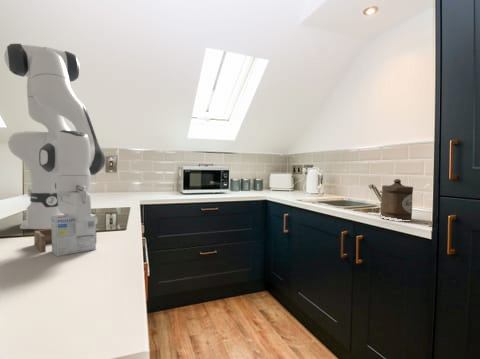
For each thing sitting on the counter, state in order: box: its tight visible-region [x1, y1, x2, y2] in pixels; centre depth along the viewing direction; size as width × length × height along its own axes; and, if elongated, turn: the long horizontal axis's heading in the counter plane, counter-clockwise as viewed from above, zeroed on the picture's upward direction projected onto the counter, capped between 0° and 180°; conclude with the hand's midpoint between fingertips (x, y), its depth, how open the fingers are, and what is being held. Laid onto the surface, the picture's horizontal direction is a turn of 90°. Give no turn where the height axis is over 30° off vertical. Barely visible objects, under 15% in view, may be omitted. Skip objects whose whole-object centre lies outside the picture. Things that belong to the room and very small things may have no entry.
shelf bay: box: [33, 228, 52, 253], centre depth 90 cm, size 10×15×4 cm
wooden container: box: [380, 178, 414, 221], centre depth 151 cm, size 15×15×22 cm
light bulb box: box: [51, 213, 97, 257], centre depth 83 cm, size 11×7×11 cm, turn 135°
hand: (73, 231), depth 83 cm, fingers open, 8 cm apart
